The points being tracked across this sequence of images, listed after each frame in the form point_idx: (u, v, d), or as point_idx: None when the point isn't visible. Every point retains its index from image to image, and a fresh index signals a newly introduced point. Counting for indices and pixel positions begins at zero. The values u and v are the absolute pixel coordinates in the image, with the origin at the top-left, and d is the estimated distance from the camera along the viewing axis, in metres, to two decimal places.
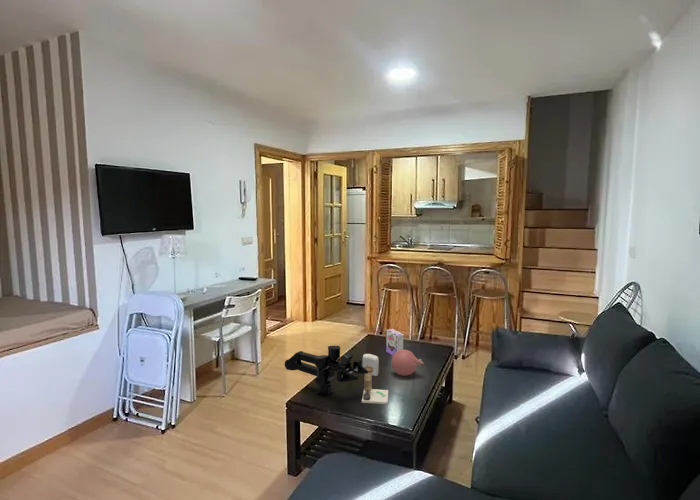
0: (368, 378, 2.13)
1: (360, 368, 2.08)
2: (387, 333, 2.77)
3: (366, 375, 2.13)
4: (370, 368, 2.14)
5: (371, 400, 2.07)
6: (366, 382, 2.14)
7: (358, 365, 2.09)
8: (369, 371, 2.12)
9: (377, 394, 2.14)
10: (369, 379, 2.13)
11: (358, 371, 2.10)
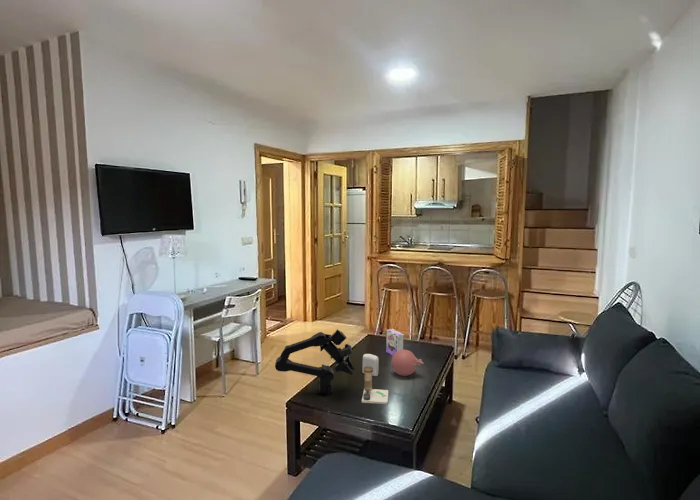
0: (368, 378, 2.13)
1: (348, 362, 2.19)
2: (387, 333, 2.77)
3: (366, 375, 2.13)
4: (370, 368, 2.14)
5: (371, 400, 2.07)
6: (366, 382, 2.14)
7: (348, 358, 2.19)
8: (369, 371, 2.12)
9: (377, 394, 2.14)
10: (369, 379, 2.13)
11: None
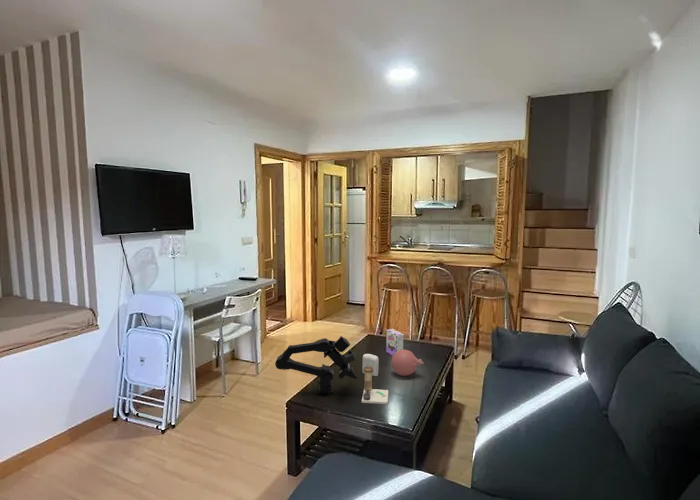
0: (368, 378, 2.13)
1: None
2: (387, 333, 2.77)
3: (366, 375, 2.13)
4: (370, 368, 2.14)
5: (371, 400, 2.07)
6: (366, 382, 2.14)
7: (351, 367, 2.16)
8: (369, 371, 2.12)
9: (377, 394, 2.14)
10: (369, 379, 2.13)
11: None
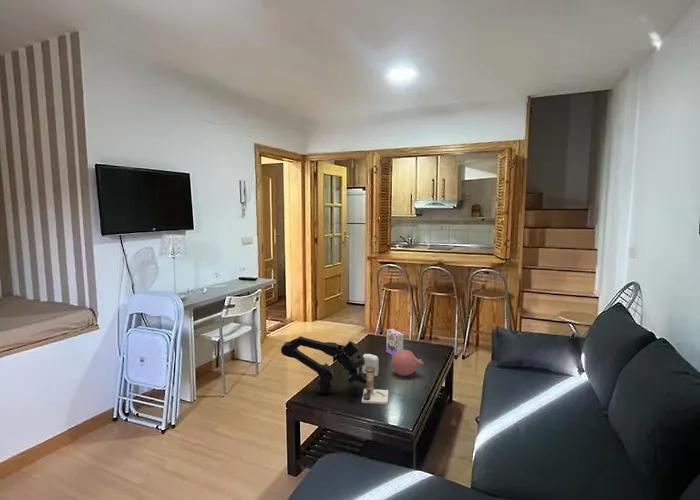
0: (370, 378, 2.13)
1: None
2: (387, 333, 2.77)
3: (368, 375, 2.13)
4: (372, 368, 2.14)
5: (371, 400, 2.07)
6: (367, 382, 2.14)
7: (360, 371, 2.16)
8: (370, 371, 2.12)
9: (377, 394, 2.14)
10: (370, 379, 2.13)
11: None
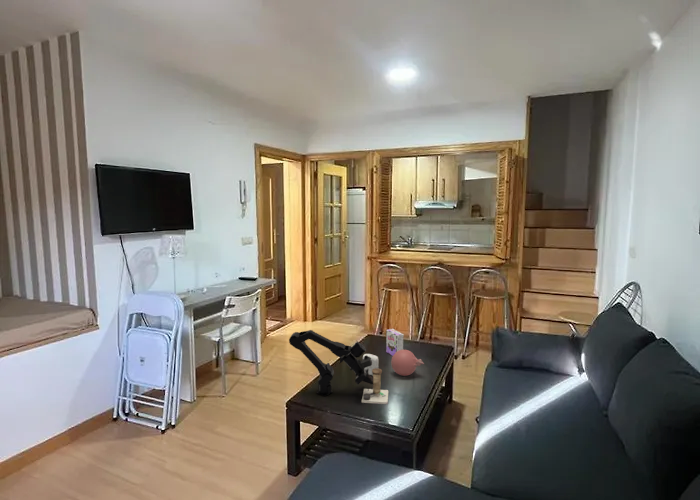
0: (374, 380, 2.11)
1: None
2: (387, 333, 2.77)
3: (373, 376, 2.12)
4: (378, 371, 2.11)
5: (371, 400, 2.07)
6: (373, 383, 2.12)
7: (367, 372, 2.15)
8: (374, 373, 2.10)
9: (377, 394, 2.14)
10: (375, 381, 2.11)
11: None
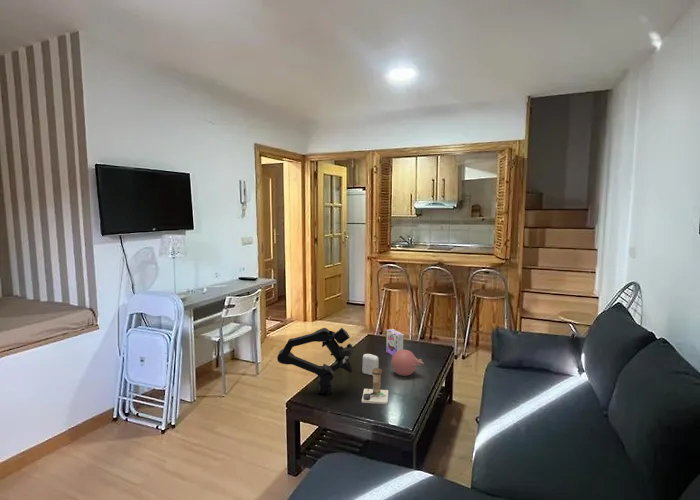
0: (374, 380, 2.11)
1: None
2: (387, 333, 2.77)
3: (373, 376, 2.12)
4: (378, 371, 2.11)
5: (371, 400, 2.07)
6: (373, 383, 2.12)
7: (347, 360, 2.15)
8: (374, 373, 2.10)
9: (377, 394, 2.14)
10: (375, 381, 2.11)
11: None
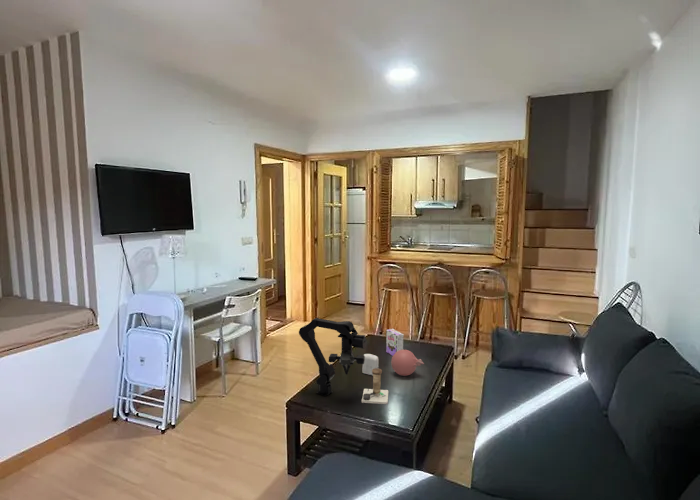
0: (374, 380, 2.11)
1: None
2: (387, 333, 2.77)
3: (373, 376, 2.12)
4: (378, 371, 2.11)
5: (371, 400, 2.07)
6: (373, 383, 2.12)
7: None
8: (374, 373, 2.10)
9: (377, 394, 2.14)
10: (375, 381, 2.11)
11: None
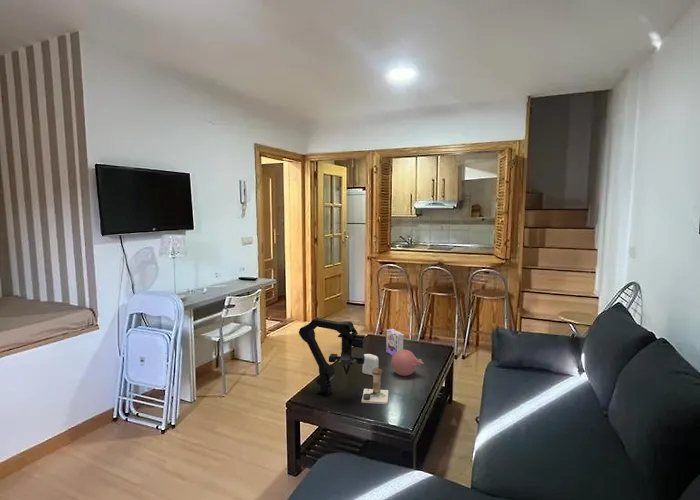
0: (374, 380, 2.11)
1: None
2: (387, 333, 2.77)
3: (373, 376, 2.12)
4: (378, 371, 2.11)
5: (371, 400, 2.07)
6: (373, 383, 2.12)
7: None
8: (374, 373, 2.10)
9: (377, 394, 2.14)
10: (375, 381, 2.11)
11: None
